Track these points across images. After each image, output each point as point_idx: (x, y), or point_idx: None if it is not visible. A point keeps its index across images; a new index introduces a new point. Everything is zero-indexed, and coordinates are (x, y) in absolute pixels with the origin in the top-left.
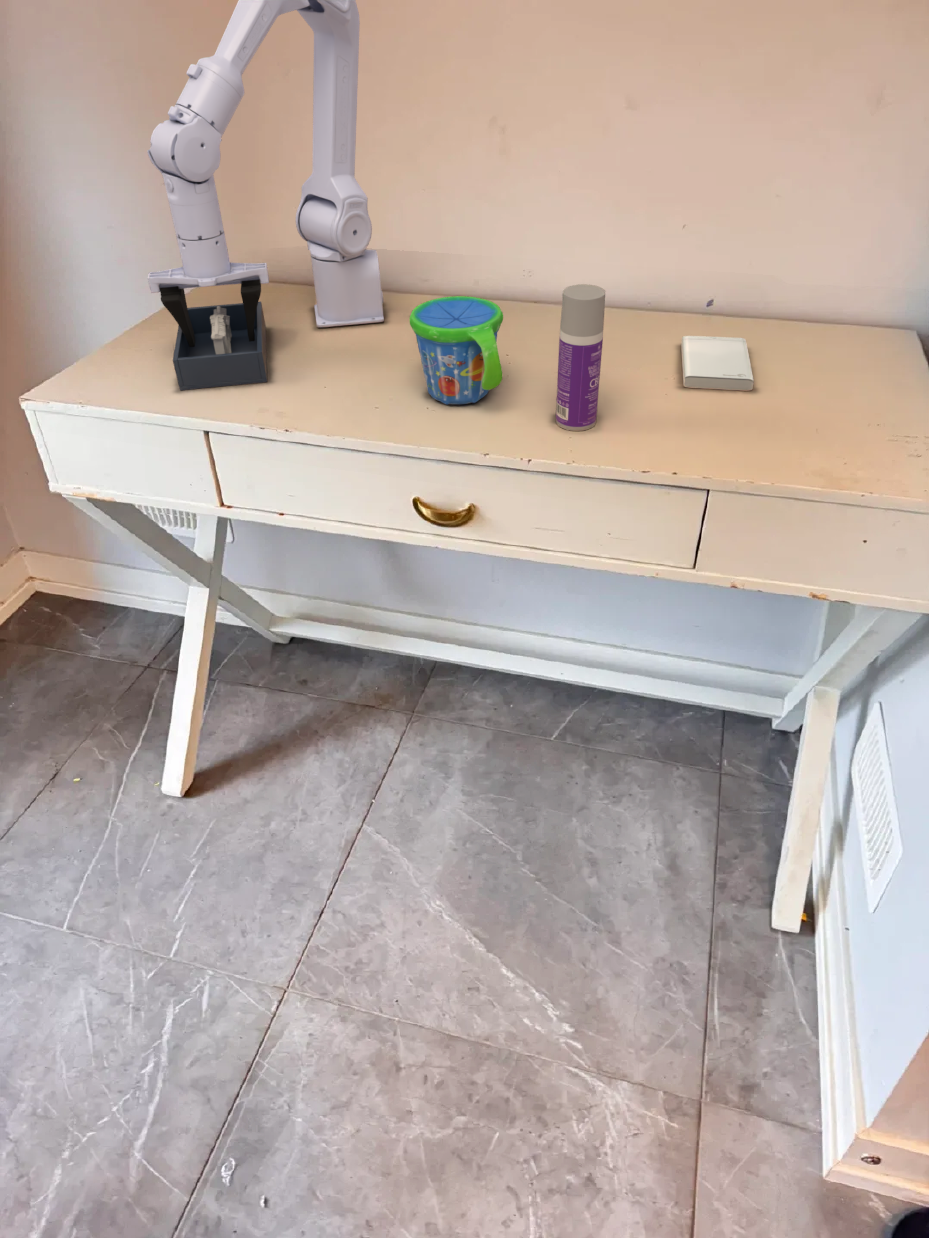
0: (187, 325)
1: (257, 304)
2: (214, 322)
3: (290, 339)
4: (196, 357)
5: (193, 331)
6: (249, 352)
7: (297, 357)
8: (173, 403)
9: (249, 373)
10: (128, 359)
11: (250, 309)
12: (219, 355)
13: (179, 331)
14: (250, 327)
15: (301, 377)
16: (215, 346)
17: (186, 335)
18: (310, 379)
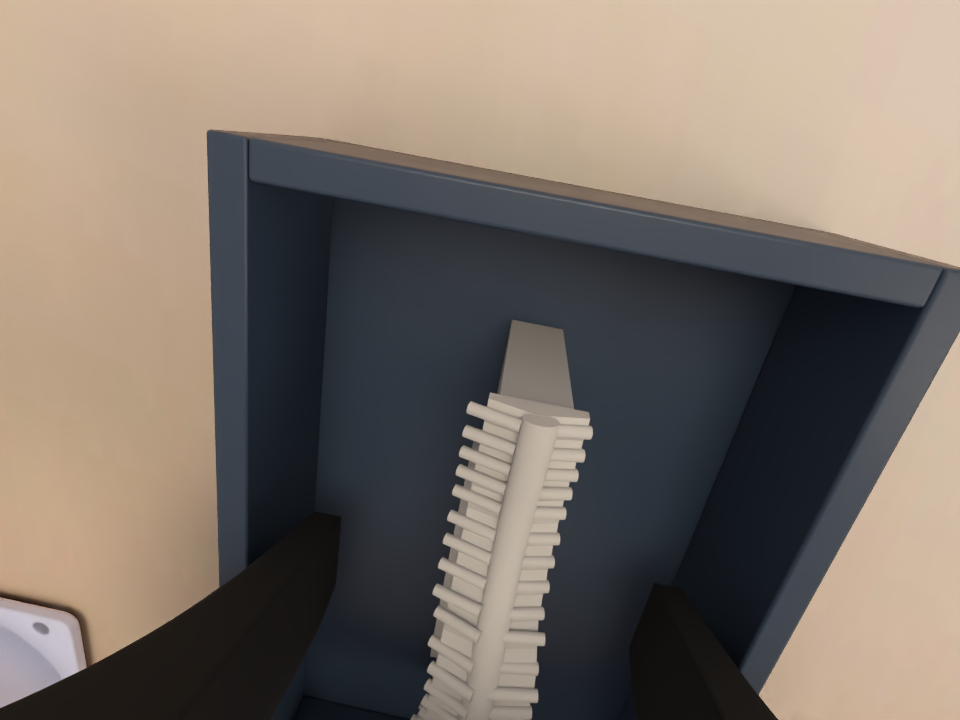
0: (718, 705)
1: (52, 685)
2: (512, 633)
3: (193, 572)
4: (772, 246)
5: (635, 702)
6: (309, 162)
7: (157, 388)
8: (943, 54)
9: (392, 154)
10: (929, 685)
11: (158, 663)
12: (569, 205)
13: None
14: (275, 562)
15: (125, 129)
16: (564, 395)
17: (714, 646)
18: (72, 77)
